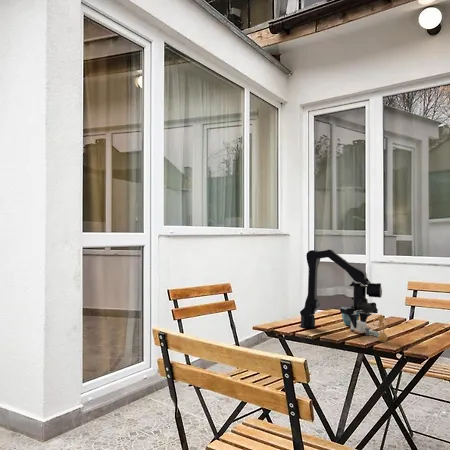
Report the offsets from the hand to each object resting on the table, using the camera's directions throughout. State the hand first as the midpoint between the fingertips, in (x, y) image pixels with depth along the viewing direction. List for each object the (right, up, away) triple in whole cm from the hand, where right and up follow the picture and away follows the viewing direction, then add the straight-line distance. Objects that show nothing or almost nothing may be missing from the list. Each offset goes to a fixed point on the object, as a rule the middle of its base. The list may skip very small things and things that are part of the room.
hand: (358, 327), depth 229 cm
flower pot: (+2, -4, +22) cm, 23 cm away
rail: (+2, -3, +1) cm, 4 cm away
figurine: (+5, -2, -19) cm, 19 cm away
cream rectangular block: (0, -1, 0) cm, 1 cm away
